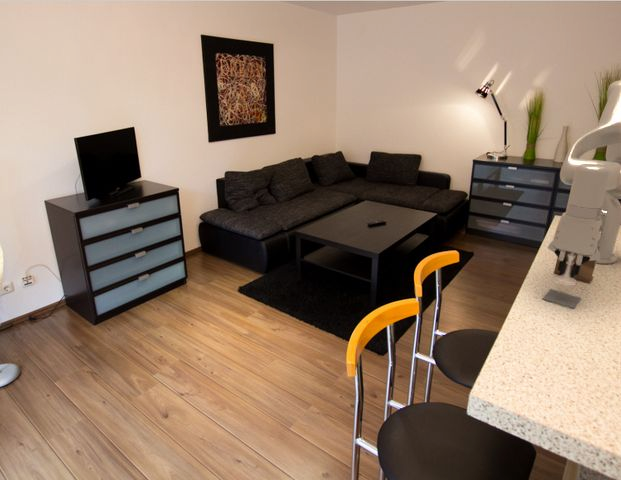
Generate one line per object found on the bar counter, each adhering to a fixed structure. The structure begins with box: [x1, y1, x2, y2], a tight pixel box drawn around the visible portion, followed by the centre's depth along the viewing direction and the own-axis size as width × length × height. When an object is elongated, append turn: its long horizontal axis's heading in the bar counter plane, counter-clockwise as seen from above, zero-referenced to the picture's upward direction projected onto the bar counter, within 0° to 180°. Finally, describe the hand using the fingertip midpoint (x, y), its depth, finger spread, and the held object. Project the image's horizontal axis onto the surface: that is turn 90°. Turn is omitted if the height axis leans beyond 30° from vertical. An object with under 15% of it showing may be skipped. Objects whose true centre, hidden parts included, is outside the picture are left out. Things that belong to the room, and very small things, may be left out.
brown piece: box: [553, 246, 600, 285], centre depth 129 cm, size 5×10×12 cm, turn 46°
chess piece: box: [555, 252, 577, 286], centre depth 113 cm, size 5×5×10 cm
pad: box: [541, 288, 582, 310], centre depth 117 cm, size 8×8×1 cm
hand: (567, 274), depth 114 cm, fingers closed on chess piece
